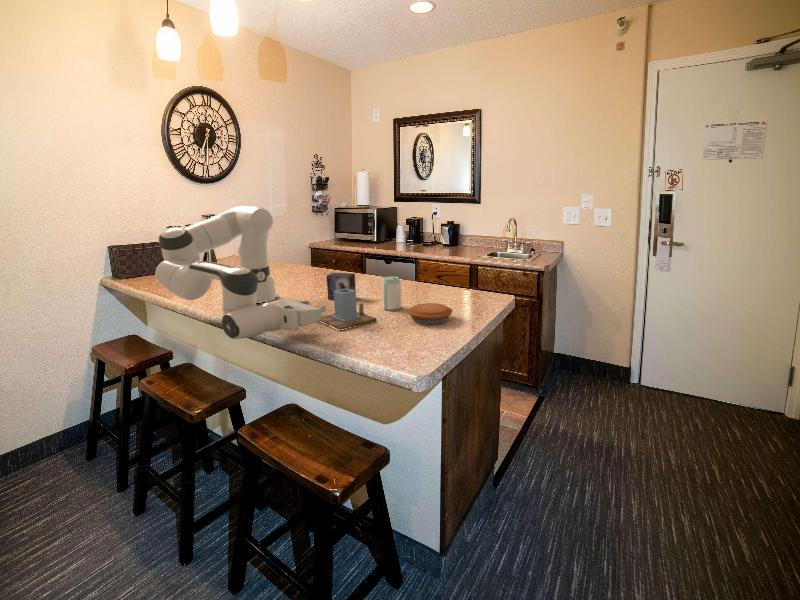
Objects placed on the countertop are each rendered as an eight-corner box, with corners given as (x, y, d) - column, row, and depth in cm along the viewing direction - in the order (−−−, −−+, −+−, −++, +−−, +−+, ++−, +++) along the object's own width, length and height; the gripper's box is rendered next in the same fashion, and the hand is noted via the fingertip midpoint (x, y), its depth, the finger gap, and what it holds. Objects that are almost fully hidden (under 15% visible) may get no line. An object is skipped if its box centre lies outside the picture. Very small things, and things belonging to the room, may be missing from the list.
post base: (316, 321, 158) (315, 304, 156) (352, 313, 167) (351, 296, 166) (340, 331, 147) (338, 312, 145) (376, 321, 156) (376, 304, 155)
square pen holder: (331, 318, 157) (329, 291, 154) (348, 314, 162) (347, 287, 159) (343, 322, 152) (341, 294, 149) (361, 318, 156) (359, 290, 154)
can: (390, 305, 177) (389, 275, 174) (404, 307, 173) (404, 277, 170) (378, 309, 172) (377, 278, 169) (392, 312, 167) (391, 280, 164)
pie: (449, 313, 164) (449, 300, 163) (455, 326, 149) (455, 311, 148) (406, 314, 164) (406, 301, 163) (409, 328, 149) (408, 313, 148)
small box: (327, 300, 188) (325, 275, 185) (333, 296, 194) (332, 272, 191) (350, 301, 185) (349, 276, 182) (356, 297, 191) (355, 273, 188)
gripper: (262, 318, 145) (299, 309, 155) (297, 331, 131) (335, 320, 140) (260, 299, 144) (297, 291, 153) (295, 310, 129) (334, 301, 139)
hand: (316, 305), depth 147 cm, fingers open, 8 cm apart
